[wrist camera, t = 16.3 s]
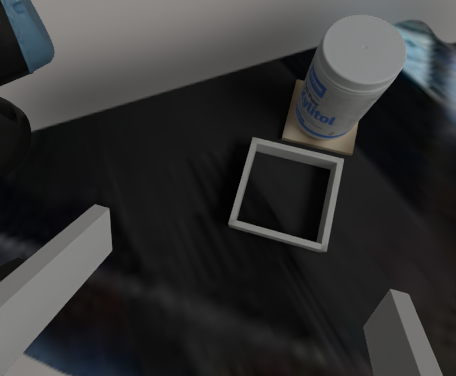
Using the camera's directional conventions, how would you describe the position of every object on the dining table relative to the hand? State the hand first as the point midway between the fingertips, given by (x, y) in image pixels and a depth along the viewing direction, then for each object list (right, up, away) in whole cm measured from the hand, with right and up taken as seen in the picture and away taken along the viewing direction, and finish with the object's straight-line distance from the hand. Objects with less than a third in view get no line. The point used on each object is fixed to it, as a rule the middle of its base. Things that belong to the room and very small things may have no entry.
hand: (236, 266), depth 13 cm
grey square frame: (+8, +3, +29) cm, 30 cm away
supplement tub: (+15, +15, +32) cm, 38 cm away
